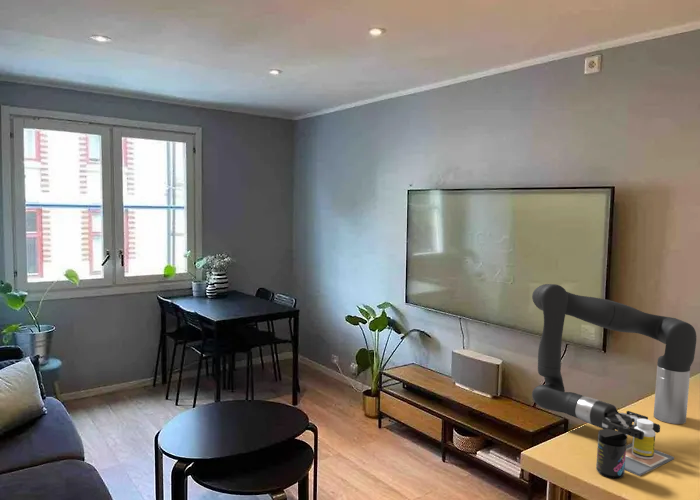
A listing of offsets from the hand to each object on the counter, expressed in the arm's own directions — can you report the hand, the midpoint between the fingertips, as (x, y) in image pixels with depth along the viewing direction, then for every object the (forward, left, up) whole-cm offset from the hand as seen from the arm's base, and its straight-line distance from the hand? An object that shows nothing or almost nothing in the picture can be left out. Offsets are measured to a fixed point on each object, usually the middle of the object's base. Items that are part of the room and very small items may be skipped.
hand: (651, 432), depth 145 cm
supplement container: (+16, -2, -8) cm, 18 cm away
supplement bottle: (0, -2, -8) cm, 8 cm away
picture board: (+2, -2, -8) cm, 9 cm away
